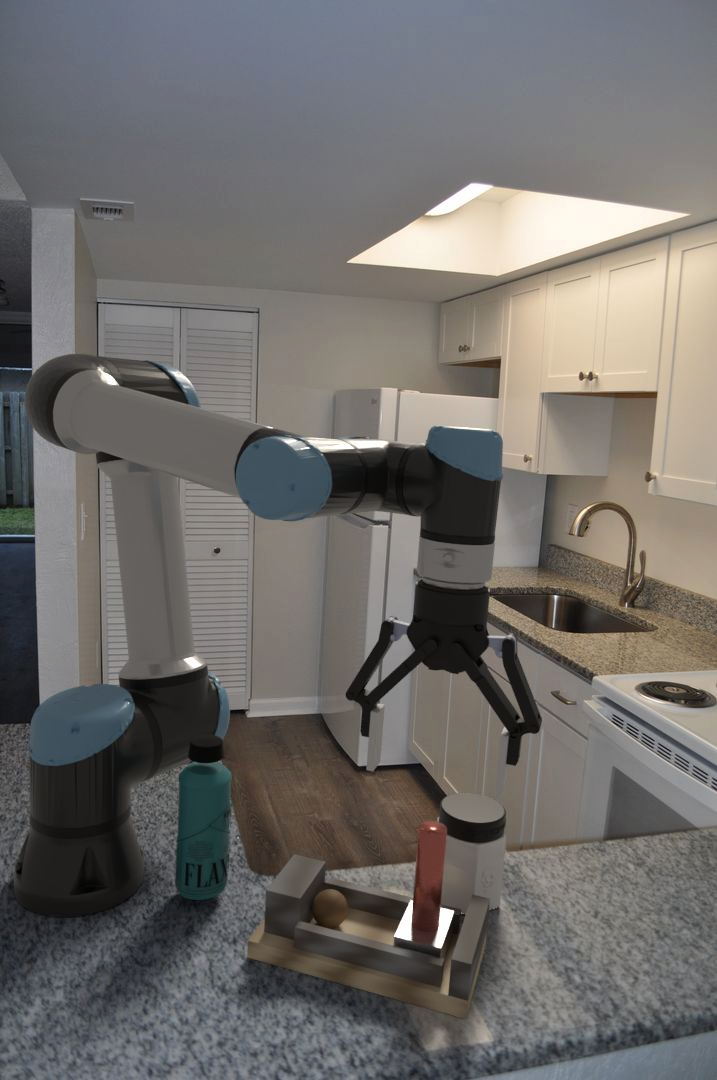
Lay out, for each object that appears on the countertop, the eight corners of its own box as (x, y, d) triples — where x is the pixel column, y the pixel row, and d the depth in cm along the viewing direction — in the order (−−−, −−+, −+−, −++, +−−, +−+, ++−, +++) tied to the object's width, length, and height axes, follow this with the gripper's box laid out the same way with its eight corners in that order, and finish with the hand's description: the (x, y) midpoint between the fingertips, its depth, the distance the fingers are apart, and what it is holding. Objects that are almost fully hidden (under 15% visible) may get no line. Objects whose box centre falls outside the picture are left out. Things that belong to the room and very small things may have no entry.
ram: (392, 962, 85) (401, 838, 83) (408, 924, 92) (417, 808, 90) (438, 974, 84) (449, 848, 82) (452, 935, 91) (462, 817, 88)
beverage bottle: (174, 915, 94) (179, 752, 91) (172, 883, 101) (176, 729, 98) (231, 909, 96) (238, 749, 93) (224, 878, 102) (231, 727, 100)
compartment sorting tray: (247, 957, 88) (249, 897, 87) (289, 897, 99) (292, 844, 98) (466, 1019, 81) (472, 954, 80) (485, 947, 92) (490, 890, 91)
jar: (459, 925, 96) (467, 830, 94) (417, 889, 103) (424, 800, 101) (514, 904, 101) (523, 813, 99) (470, 871, 108) (478, 786, 106)
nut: (309, 935, 90) (304, 900, 89) (322, 915, 94) (316, 882, 93) (343, 936, 89) (337, 901, 88) (354, 916, 92) (349, 882, 92)
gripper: (324, 571, 82) (311, 769, 85) (578, 605, 75) (553, 820, 78) (348, 560, 89) (335, 743, 92) (582, 590, 82) (559, 788, 85)
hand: (435, 778), depth 85 cm, fingers open, 13 cm apart
